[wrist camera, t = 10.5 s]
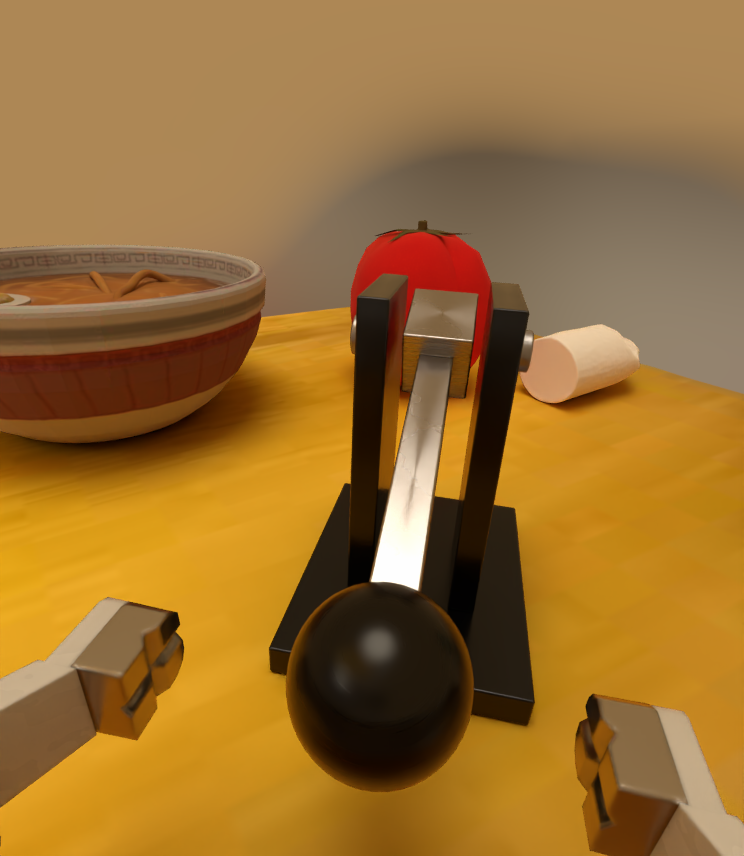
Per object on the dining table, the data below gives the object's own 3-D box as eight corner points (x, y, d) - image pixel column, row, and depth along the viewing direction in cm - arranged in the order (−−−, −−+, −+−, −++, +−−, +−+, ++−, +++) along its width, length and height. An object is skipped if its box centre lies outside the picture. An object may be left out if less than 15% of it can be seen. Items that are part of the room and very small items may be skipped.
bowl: (-183, 526, 24) (-299, 316, 19) (-18, 366, 43) (-57, 242, 39) (297, 466, 31) (293, 301, 26) (254, 351, 50) (247, 245, 46)
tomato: (445, 423, 37) (469, 232, 31) (317, 383, 43) (317, 216, 37) (503, 380, 46) (530, 225, 40) (390, 352, 52) (399, 213, 46)
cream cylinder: (651, 388, 46) (670, 327, 43) (569, 414, 40) (586, 345, 37) (593, 368, 50) (608, 312, 48) (511, 388, 44) (523, 325, 42)
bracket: (528, 726, 17) (637, 353, 11) (269, 671, 18) (246, 315, 12) (511, 526, 26) (564, 274, 21) (344, 500, 28) (350, 257, 22)
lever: (456, 828, 10) (481, 795, 7) (276, 783, 10) (238, 738, 8) (487, 364, 19) (502, 278, 17) (394, 354, 20) (395, 270, 17)
